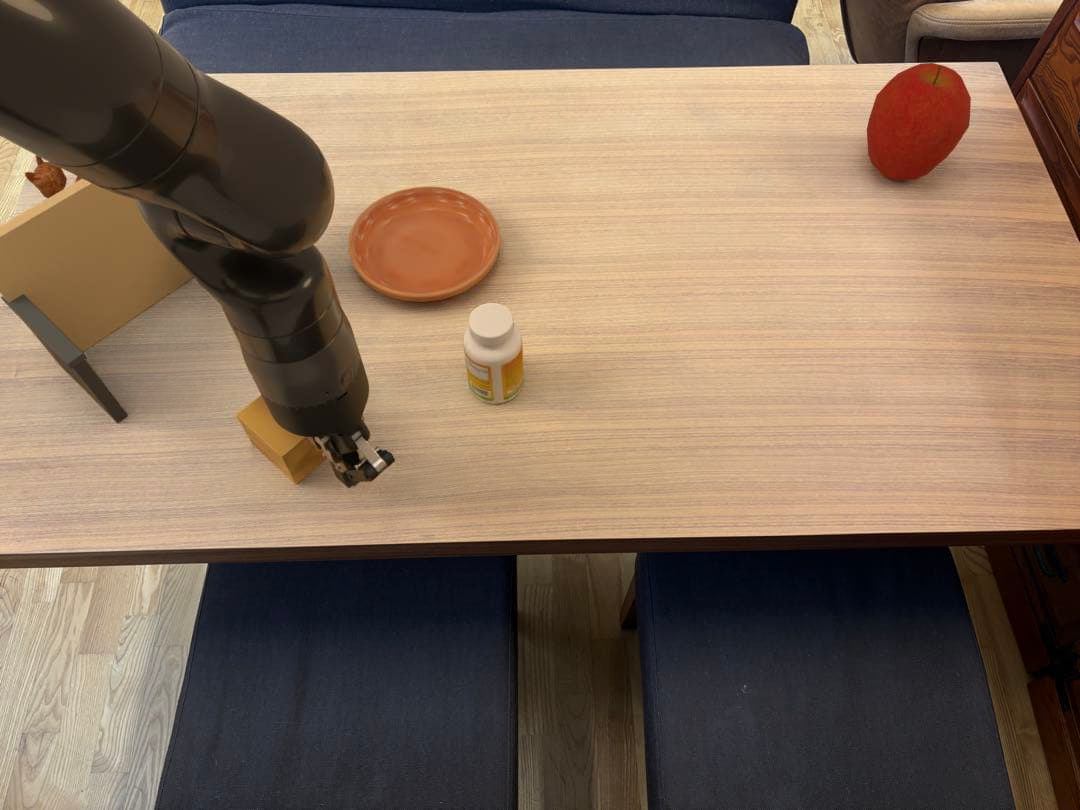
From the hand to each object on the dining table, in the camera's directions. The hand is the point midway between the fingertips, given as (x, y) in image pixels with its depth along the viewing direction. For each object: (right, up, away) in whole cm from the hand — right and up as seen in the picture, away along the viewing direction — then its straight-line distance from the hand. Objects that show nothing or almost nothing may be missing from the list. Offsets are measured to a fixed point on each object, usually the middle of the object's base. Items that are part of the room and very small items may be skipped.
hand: (352, 476), depth 75 cm
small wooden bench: (-21, +14, +12) cm, 28 cm away
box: (-6, +3, +5) cm, 8 cm away
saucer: (+4, +22, +17) cm, 29 cm away
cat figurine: (-31, +28, +21) cm, 47 cm away
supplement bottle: (+12, +8, +8) cm, 17 cm away
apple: (+58, +34, +25) cm, 71 cm away
